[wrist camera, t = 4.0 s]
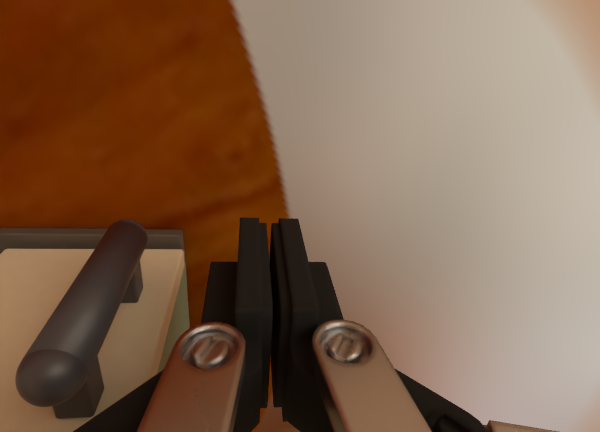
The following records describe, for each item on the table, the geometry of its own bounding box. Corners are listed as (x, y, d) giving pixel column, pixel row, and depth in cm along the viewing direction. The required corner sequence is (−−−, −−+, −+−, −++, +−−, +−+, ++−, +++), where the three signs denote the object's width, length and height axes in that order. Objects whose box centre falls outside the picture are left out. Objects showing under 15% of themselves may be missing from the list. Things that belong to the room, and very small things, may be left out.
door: (-14, 188, 13) (-432, 463, 5) (180, 193, 14) (89, 432, 6) (11, 265, 14) (-285, 577, 6) (185, 265, 15) (117, 537, 7)
